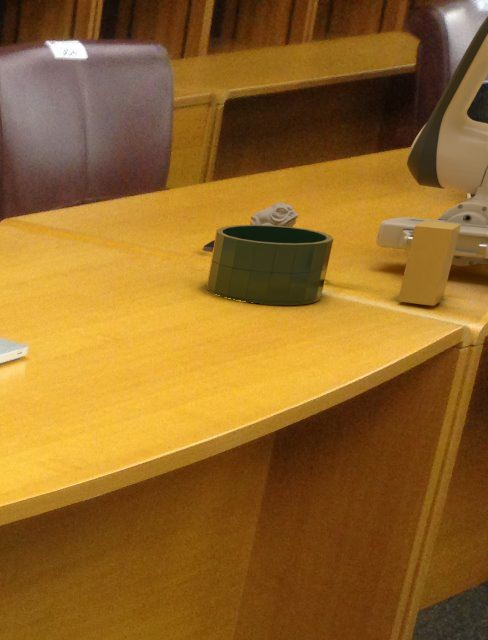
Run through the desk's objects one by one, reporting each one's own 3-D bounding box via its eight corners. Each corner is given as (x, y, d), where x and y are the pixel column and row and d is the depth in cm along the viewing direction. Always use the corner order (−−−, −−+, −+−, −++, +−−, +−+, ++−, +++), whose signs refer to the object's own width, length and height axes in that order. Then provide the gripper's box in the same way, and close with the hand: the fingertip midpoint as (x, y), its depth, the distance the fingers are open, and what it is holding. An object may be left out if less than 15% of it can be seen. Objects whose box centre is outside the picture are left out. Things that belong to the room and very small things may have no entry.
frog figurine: (281, 254, 236) (292, 208, 233) (237, 247, 240) (247, 201, 237) (296, 249, 240) (307, 203, 237) (253, 241, 244) (263, 196, 241)
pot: (333, 291, 212) (346, 232, 208) (301, 310, 201) (314, 248, 198) (227, 277, 220) (237, 220, 216) (190, 295, 210) (201, 235, 206)
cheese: (442, 299, 207) (461, 224, 203) (433, 306, 204) (452, 229, 199) (406, 295, 210) (424, 220, 205) (397, 301, 206) (415, 225, 202)
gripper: (395, 203, 224) (369, 215, 214) (553, 218, 212) (534, 232, 202) (385, 247, 226) (359, 261, 217) (541, 264, 215) (521, 280, 205)
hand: (445, 247), depth 209 cm, fingers open, 8 cm apart
